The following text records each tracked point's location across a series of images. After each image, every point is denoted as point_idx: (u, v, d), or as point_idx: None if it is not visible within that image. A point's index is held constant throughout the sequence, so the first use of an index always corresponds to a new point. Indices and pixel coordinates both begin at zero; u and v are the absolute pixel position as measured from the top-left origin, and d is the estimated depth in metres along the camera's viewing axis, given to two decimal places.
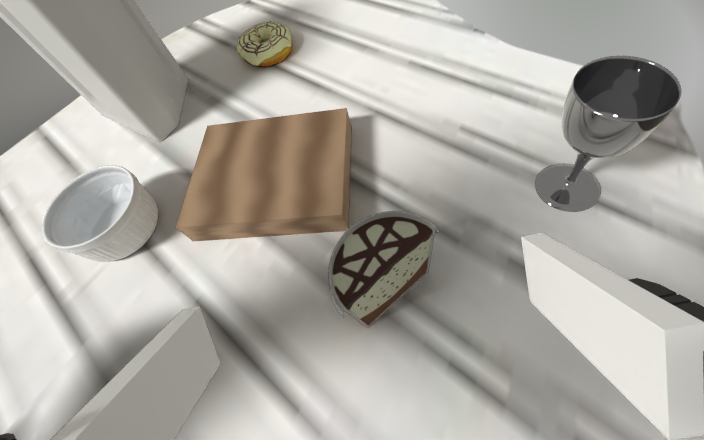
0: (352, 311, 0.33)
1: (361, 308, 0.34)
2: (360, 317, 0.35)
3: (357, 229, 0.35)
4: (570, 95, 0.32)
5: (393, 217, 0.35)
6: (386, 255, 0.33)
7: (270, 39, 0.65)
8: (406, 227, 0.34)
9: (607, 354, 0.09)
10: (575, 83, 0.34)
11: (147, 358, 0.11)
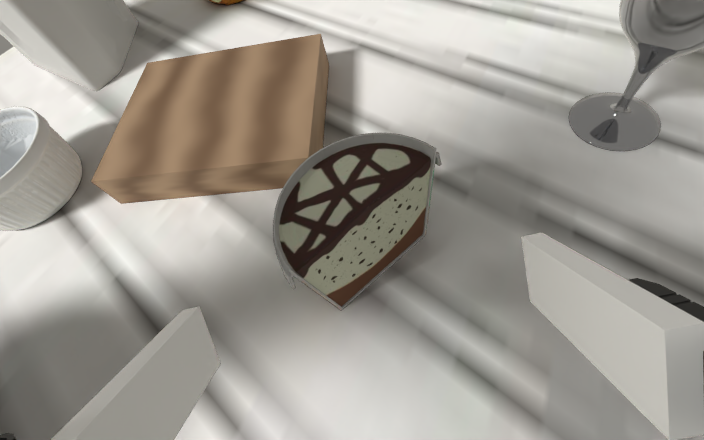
0: (310, 281, 0.22)
1: (325, 277, 0.23)
2: (326, 292, 0.24)
3: (320, 162, 0.24)
4: None
5: (373, 144, 0.24)
6: (360, 195, 0.21)
7: None
8: (392, 156, 0.23)
9: (607, 355, 0.09)
10: None
11: (147, 358, 0.11)
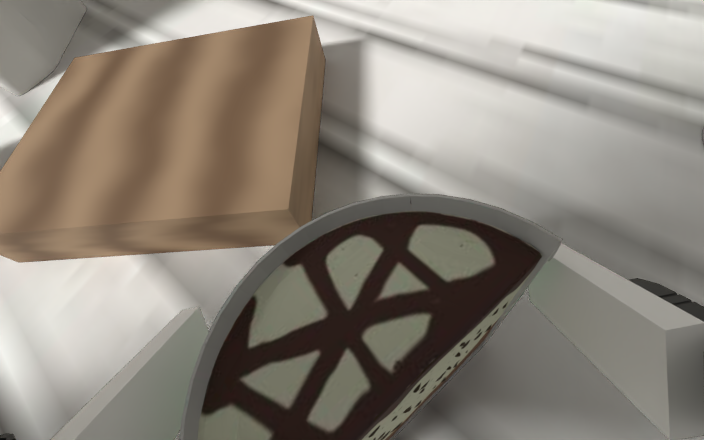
0: None
1: None
2: None
3: (300, 250, 0.11)
4: None
5: (410, 214, 0.11)
6: (389, 347, 0.09)
7: None
8: (453, 245, 0.11)
9: (607, 355, 0.09)
10: None
11: (147, 358, 0.11)
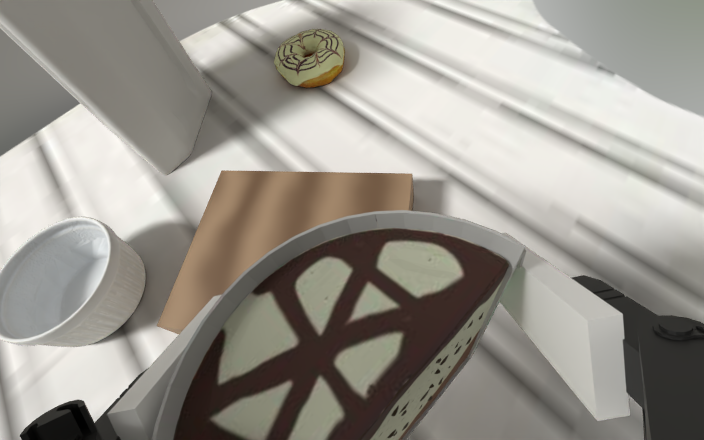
0: None
1: None
2: None
3: (269, 277, 0.11)
4: None
5: (378, 232, 0.11)
6: (361, 371, 0.09)
7: (317, 54, 0.50)
8: (421, 260, 0.11)
9: (552, 345, 0.10)
10: None
11: (189, 338, 0.12)
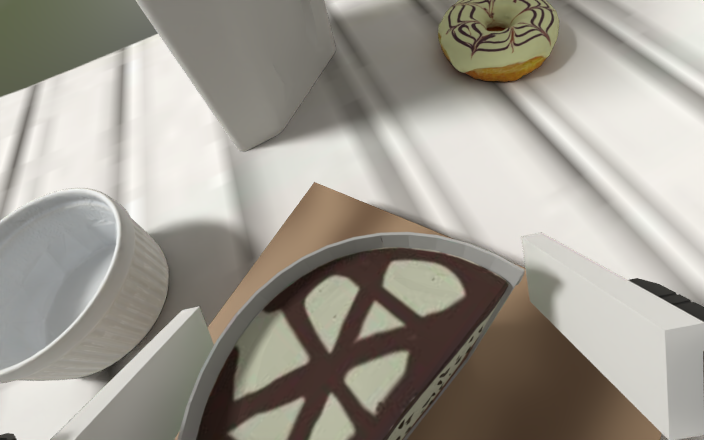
0: None
1: None
2: None
3: (279, 295, 0.12)
4: None
5: (383, 251, 0.12)
6: (370, 389, 0.10)
7: (514, 30, 0.31)
8: (425, 279, 0.11)
9: (607, 354, 0.09)
10: None
11: (147, 358, 0.11)
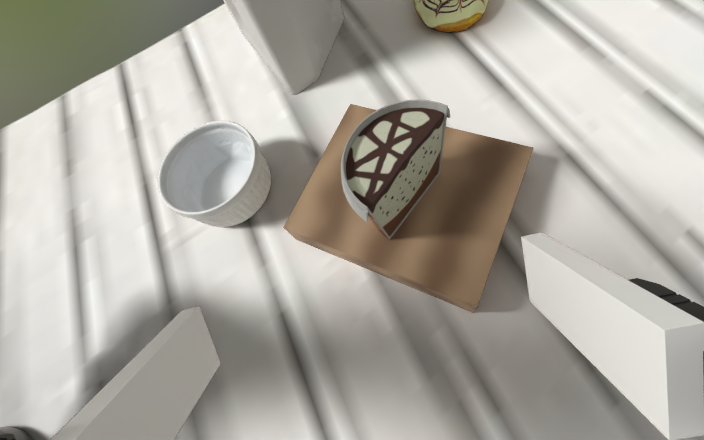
0: (375, 216, 0.31)
1: (383, 212, 0.31)
2: (382, 225, 0.33)
3: (362, 130, 0.32)
4: None
5: (399, 110, 0.32)
6: (400, 148, 0.30)
7: None
8: (415, 117, 0.31)
9: (607, 355, 0.09)
10: None
11: (147, 358, 0.11)
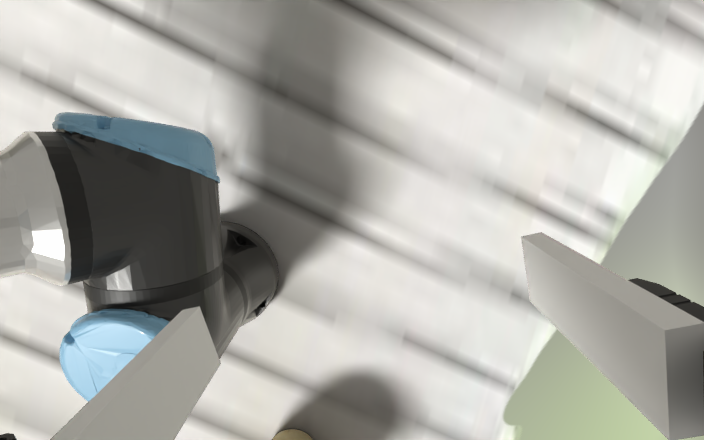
0: None
1: None
2: None
3: None
4: None
5: None
6: None
7: None
8: None
9: (607, 354, 0.09)
10: None
11: (147, 358, 0.11)
